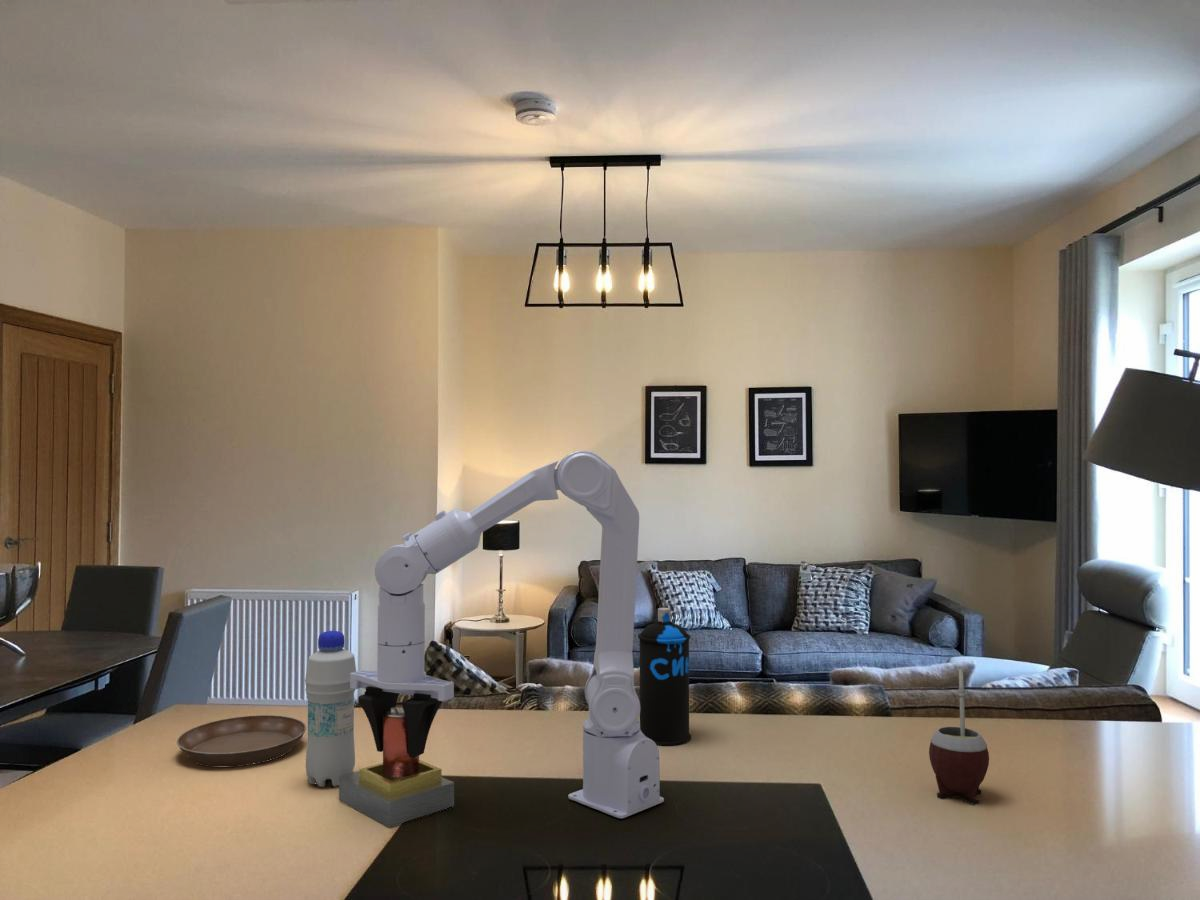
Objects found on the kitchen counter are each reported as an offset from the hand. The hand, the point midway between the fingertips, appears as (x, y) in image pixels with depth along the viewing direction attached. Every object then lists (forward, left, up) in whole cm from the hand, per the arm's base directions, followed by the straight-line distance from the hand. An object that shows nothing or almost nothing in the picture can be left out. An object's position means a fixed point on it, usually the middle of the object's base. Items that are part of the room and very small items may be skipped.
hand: (400, 752), depth 107 cm
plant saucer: (+35, +5, -7) cm, 36 cm away
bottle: (+14, +2, -7) cm, 16 cm away
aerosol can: (-5, -44, -7) cm, 45 cm away
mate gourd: (-47, -53, -7) cm, 71 cm away
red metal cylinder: (0, 0, -2) cm, 2 cm away
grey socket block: (+1, 0, -7) cm, 7 cm away
